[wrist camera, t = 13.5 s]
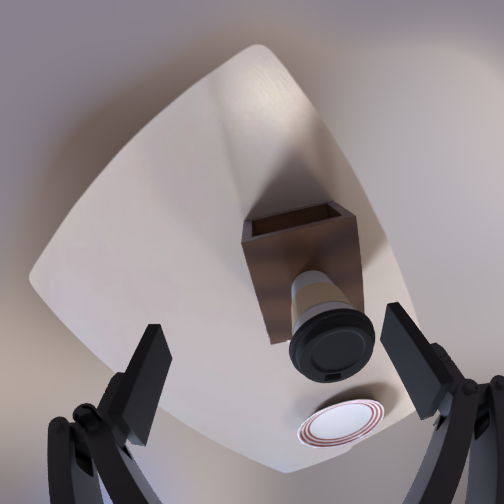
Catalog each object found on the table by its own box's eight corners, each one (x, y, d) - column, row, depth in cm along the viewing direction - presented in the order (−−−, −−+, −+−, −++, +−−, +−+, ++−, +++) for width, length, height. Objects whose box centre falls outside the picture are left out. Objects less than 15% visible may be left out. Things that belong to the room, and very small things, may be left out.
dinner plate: (284, 413, 67) (285, 422, 64) (376, 379, 63) (380, 388, 60) (310, 447, 76) (311, 455, 73) (384, 421, 72) (387, 428, 68)
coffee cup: (295, 323, 41) (311, 398, 27) (267, 277, 38) (274, 348, 24) (350, 296, 40) (388, 362, 26) (327, 245, 37) (367, 302, 23)
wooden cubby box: (243, 221, 47) (241, 243, 37) (332, 199, 46) (355, 215, 35) (267, 307, 54) (270, 345, 43) (345, 288, 52) (364, 321, 41)
